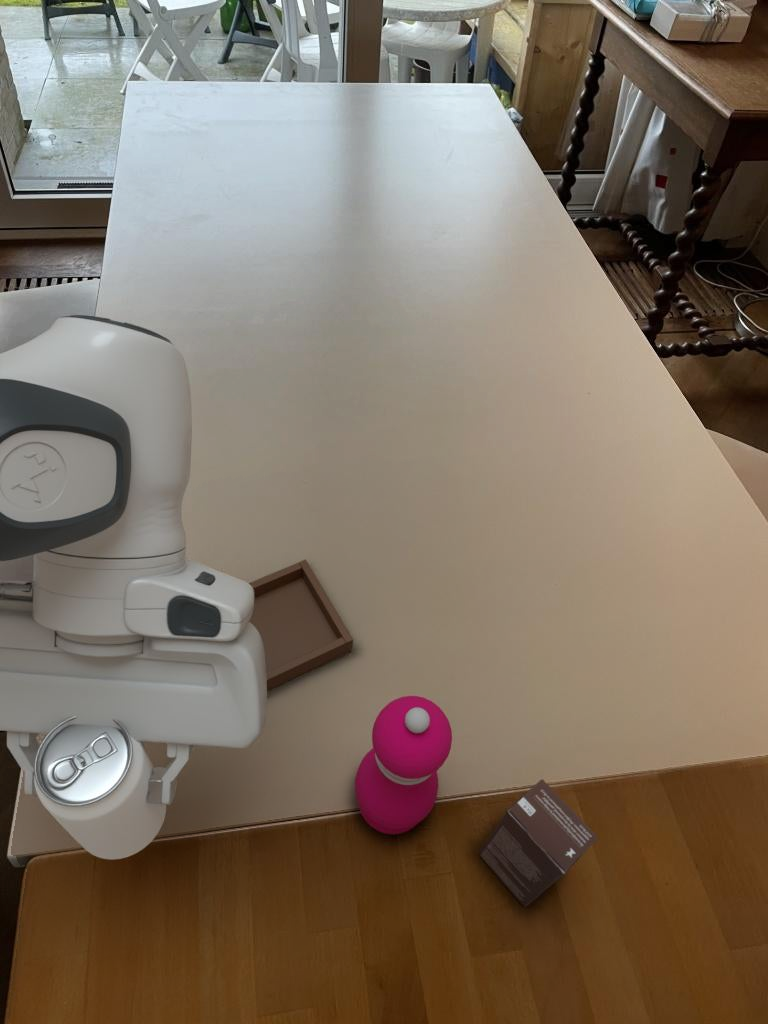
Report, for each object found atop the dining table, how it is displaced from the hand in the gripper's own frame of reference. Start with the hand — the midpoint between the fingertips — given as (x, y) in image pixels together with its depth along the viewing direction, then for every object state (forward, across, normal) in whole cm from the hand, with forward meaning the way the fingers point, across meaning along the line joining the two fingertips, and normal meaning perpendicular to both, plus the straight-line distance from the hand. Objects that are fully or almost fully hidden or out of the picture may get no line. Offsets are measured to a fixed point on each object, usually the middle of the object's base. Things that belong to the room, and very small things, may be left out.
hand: (102, 795), depth 51 cm
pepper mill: (+9, +20, +19) cm, 29 cm away
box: (+12, +32, +16) cm, 37 cm away
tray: (-2, +8, +30) cm, 31 cm away
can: (+4, 0, +5) cm, 7 cm away
